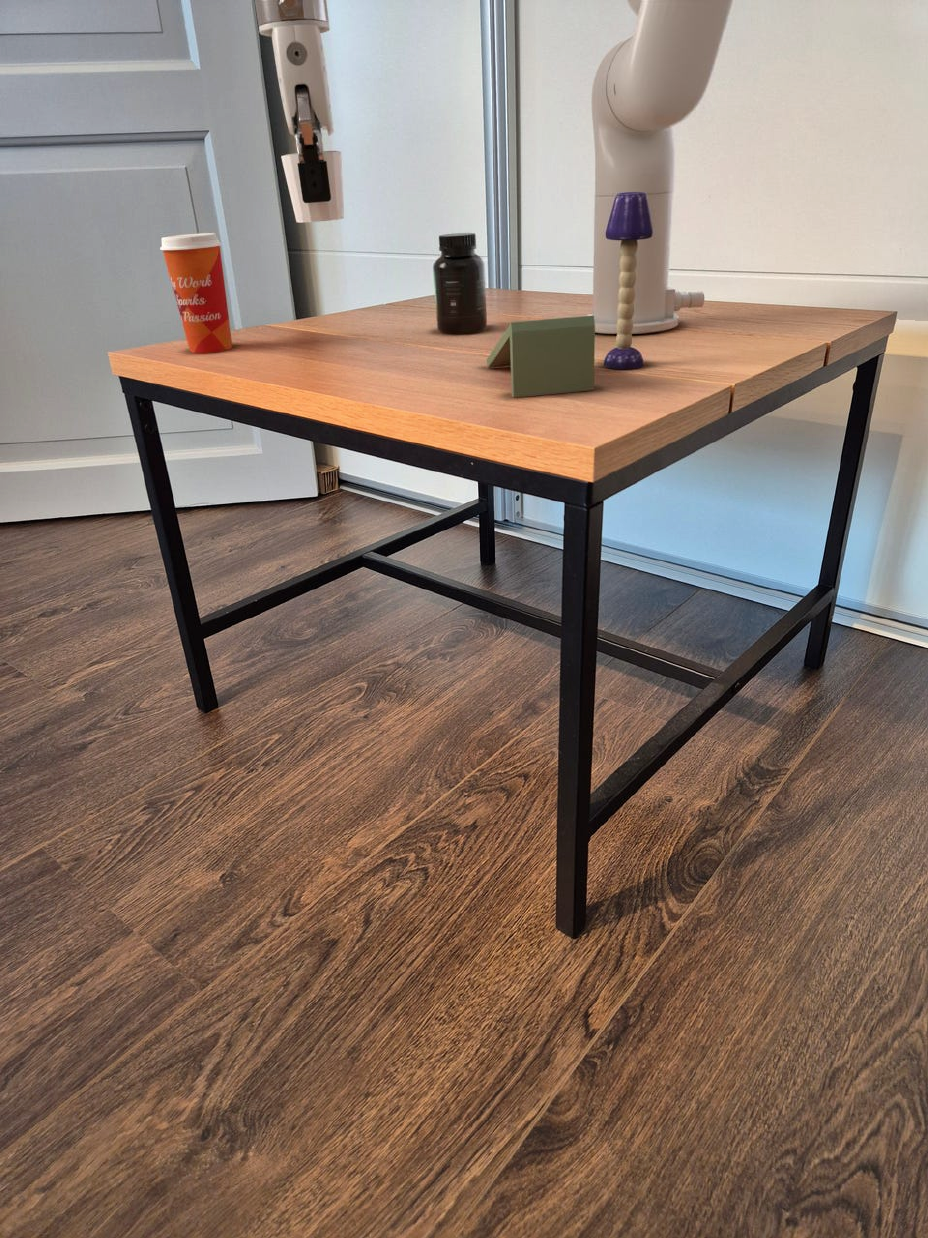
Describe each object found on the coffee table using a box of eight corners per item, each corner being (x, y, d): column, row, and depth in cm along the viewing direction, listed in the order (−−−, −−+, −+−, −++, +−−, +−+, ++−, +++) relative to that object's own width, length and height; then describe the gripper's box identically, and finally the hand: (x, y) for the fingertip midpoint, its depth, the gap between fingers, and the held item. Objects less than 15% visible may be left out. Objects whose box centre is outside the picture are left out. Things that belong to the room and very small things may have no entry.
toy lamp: (655, 365, 89) (664, 190, 81) (622, 373, 87) (629, 193, 79) (624, 359, 93) (630, 190, 85) (592, 366, 91) (595, 194, 82)
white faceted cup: (337, 220, 95) (328, 150, 92) (281, 224, 97) (271, 155, 93) (357, 216, 101) (349, 149, 98) (304, 219, 103) (295, 154, 99)
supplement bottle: (428, 333, 113) (421, 237, 108) (453, 324, 119) (447, 232, 113) (472, 335, 110) (467, 236, 105) (495, 326, 116) (492, 231, 110)
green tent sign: (487, 367, 93) (484, 301, 90) (557, 361, 94) (556, 296, 90) (513, 397, 80) (511, 323, 77) (593, 390, 81) (595, 315, 78)
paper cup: (169, 354, 111) (144, 239, 104) (204, 342, 117) (182, 233, 110) (219, 355, 108) (196, 237, 101) (252, 343, 114) (232, 231, 108)
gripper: (327, -2, 82) (351, 200, 91) (328, 25, 97) (349, 196, 106) (250, 3, 81) (281, 206, 90) (263, 29, 97) (289, 201, 105)
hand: (317, 199), depth 98 cm, fingers closed on white faceted cup, 6 cm apart
